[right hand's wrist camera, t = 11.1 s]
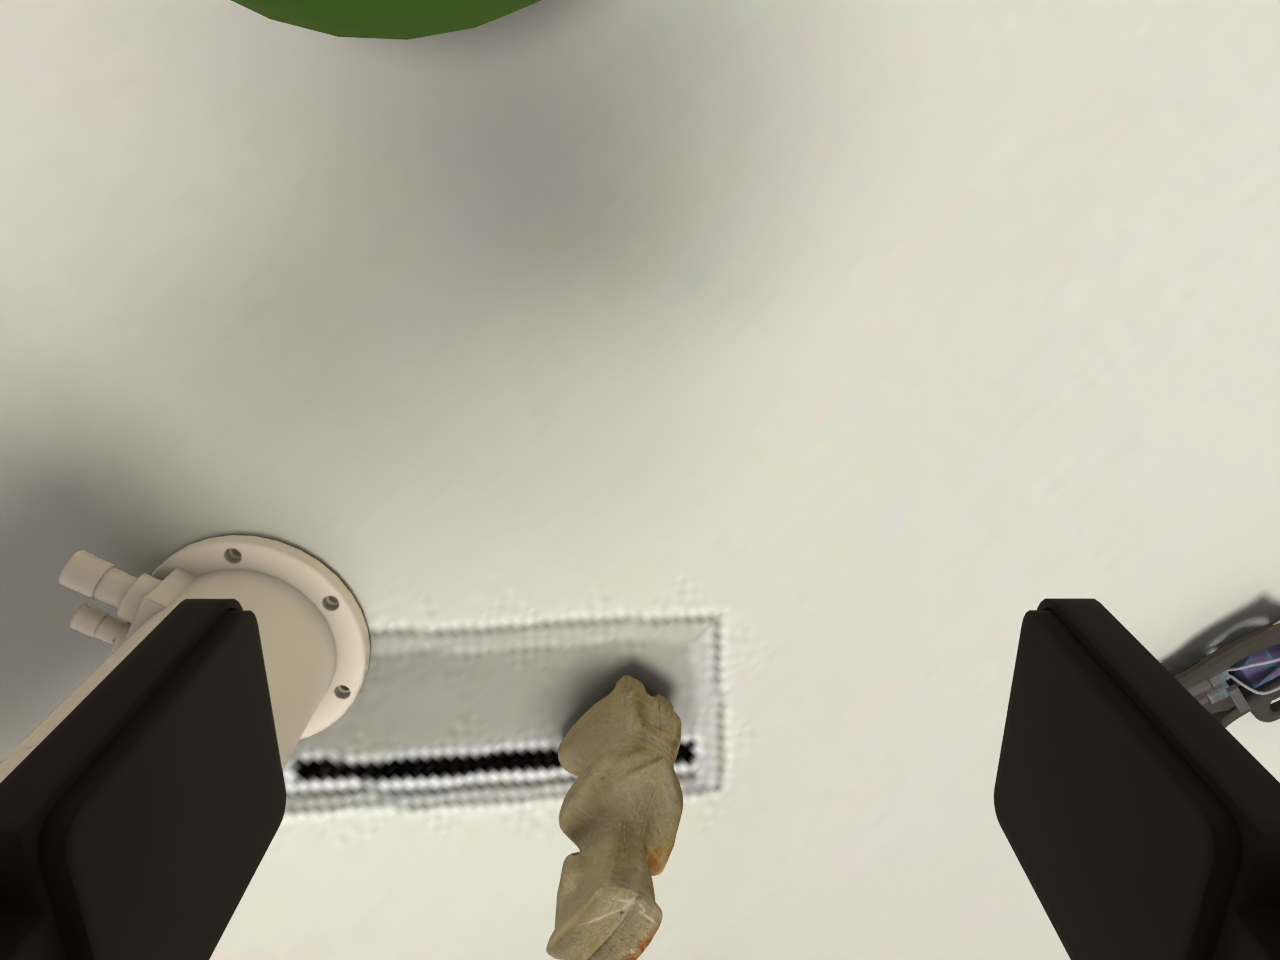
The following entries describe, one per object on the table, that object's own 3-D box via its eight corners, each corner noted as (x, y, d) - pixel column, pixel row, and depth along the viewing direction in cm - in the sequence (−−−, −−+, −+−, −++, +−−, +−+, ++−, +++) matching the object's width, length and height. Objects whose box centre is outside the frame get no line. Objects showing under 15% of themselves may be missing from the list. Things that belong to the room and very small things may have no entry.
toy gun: (1460, 700, 49) (1409, 577, 45) (1124, 850, 54) (1052, 751, 50) (1421, 667, 51) (1369, 547, 47) (1103, 813, 56) (1033, 717, 52)
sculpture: (541, 730, 52) (505, 948, 38) (622, 646, 50) (615, 843, 36) (620, 784, 53) (612, 1013, 39) (701, 704, 52) (724, 916, 37)
